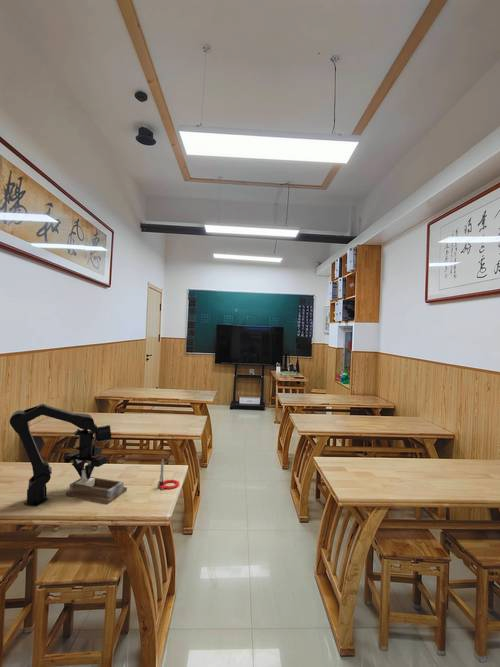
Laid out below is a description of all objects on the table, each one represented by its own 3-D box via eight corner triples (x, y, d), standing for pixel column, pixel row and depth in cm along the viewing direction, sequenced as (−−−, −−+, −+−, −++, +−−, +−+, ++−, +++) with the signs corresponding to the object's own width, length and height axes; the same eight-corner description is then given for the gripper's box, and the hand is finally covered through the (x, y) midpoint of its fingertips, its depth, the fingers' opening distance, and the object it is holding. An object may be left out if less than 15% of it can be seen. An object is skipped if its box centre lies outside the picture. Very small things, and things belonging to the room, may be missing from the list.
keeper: (84, 491, 143) (85, 472, 143) (75, 489, 144) (75, 471, 144) (94, 485, 149) (95, 467, 149) (85, 483, 150) (85, 466, 150)
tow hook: (176, 481, 160) (157, 483, 156) (178, 454, 160) (159, 456, 156) (181, 488, 152) (160, 491, 148) (183, 460, 152) (162, 462, 148)
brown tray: (108, 503, 136) (108, 493, 136) (65, 496, 142) (65, 485, 142) (126, 490, 148) (126, 480, 148) (86, 484, 154) (86, 474, 154)
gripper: (115, 440, 152) (115, 473, 152) (82, 436, 157) (81, 468, 157) (98, 448, 141) (97, 484, 141) (63, 443, 146) (62, 478, 146)
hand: (85, 478), depth 147 cm, fingers closed on keeper, 3 cm apart
